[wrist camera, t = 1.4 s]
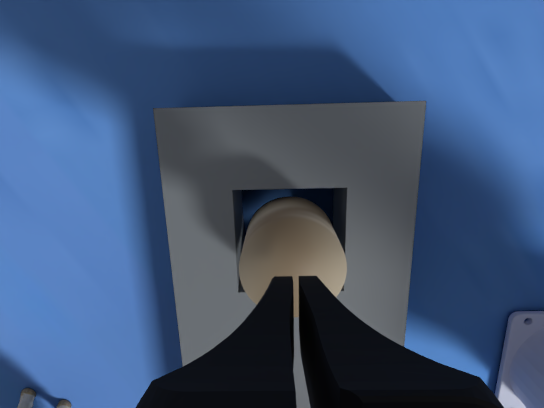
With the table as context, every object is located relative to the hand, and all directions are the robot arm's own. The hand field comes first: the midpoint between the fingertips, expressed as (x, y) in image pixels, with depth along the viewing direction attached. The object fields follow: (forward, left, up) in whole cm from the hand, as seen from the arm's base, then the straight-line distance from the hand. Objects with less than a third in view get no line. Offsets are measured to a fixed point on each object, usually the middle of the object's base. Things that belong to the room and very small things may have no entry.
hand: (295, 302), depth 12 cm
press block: (0, +6, -9) cm, 11 cm away
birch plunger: (0, 0, -6) cm, 6 cm away
